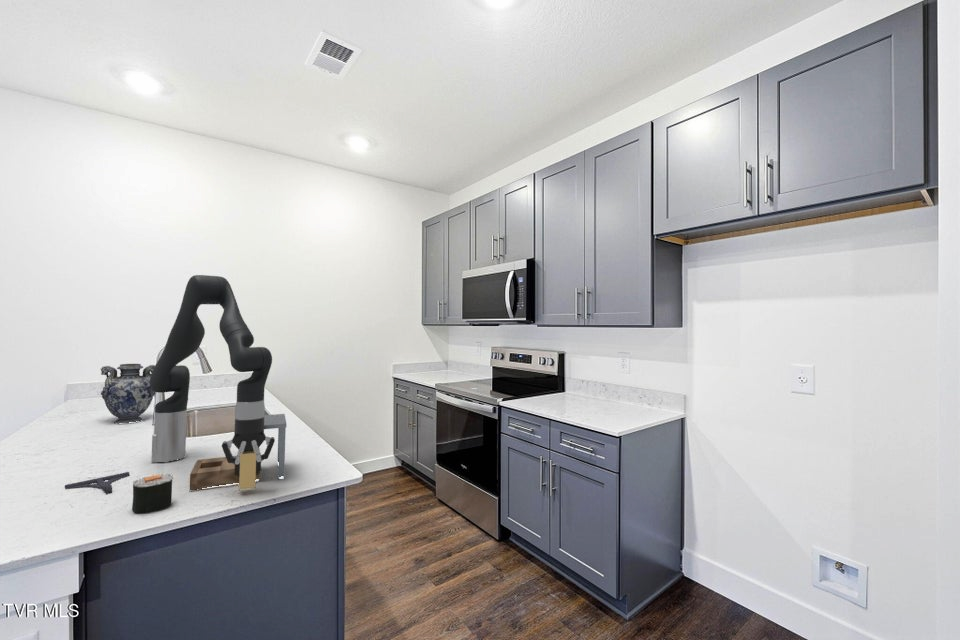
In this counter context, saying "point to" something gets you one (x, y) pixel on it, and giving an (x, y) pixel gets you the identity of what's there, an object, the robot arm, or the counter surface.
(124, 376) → the decorative vase
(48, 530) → the counter surface
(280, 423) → the panel
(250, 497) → the counter surface
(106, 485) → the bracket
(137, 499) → the sushi
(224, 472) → the socket block
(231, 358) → the robot arm
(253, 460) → the peg
